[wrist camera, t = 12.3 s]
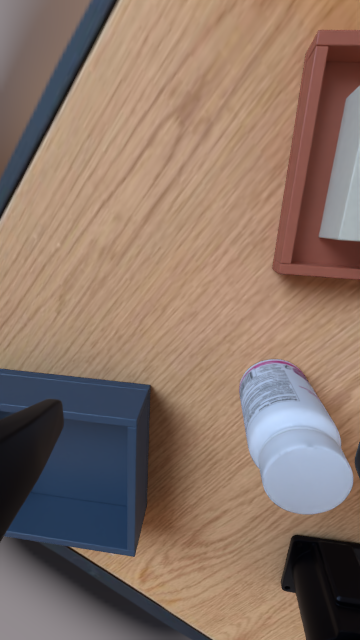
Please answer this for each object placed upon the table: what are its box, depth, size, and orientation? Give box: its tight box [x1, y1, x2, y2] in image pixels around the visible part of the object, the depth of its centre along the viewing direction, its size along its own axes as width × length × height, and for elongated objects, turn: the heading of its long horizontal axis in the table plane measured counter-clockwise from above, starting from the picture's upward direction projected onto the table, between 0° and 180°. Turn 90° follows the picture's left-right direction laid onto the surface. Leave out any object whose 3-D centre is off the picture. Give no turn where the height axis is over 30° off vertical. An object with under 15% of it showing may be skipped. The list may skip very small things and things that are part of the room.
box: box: [0, 369, 150, 557], centre depth 23 cm, size 12×14×4 cm
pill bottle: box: [239, 359, 353, 514], centre depth 17 cm, size 5×5×8 cm
